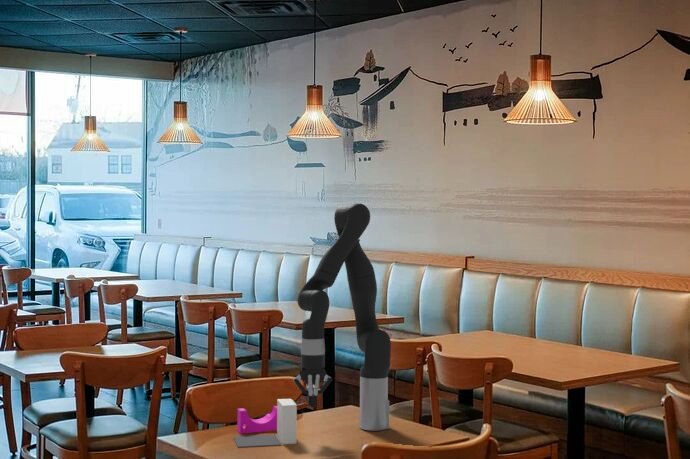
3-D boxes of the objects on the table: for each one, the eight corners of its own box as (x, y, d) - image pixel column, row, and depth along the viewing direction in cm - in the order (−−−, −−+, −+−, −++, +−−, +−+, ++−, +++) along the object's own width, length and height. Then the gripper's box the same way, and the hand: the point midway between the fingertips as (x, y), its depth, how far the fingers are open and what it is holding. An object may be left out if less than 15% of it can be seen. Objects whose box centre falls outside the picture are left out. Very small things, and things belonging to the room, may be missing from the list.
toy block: (278, 426, 304) (278, 404, 304) (284, 430, 298) (284, 407, 298) (235, 429, 298) (235, 407, 298) (240, 434, 293) (240, 410, 293)
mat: (275, 435, 290) (275, 434, 290) (281, 445, 278) (281, 444, 278) (233, 437, 287) (233, 436, 287) (238, 447, 275) (238, 446, 275)
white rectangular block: (290, 436, 290) (291, 398, 290) (296, 443, 280) (296, 404, 280) (276, 436, 289) (277, 399, 289) (282, 444, 279) (282, 405, 279)
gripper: (330, 350, 291) (330, 403, 291) (290, 351, 288) (289, 405, 288) (335, 353, 284) (335, 408, 284) (294, 354, 281) (293, 410, 281)
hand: (312, 407), depth 286 cm, fingers closed
